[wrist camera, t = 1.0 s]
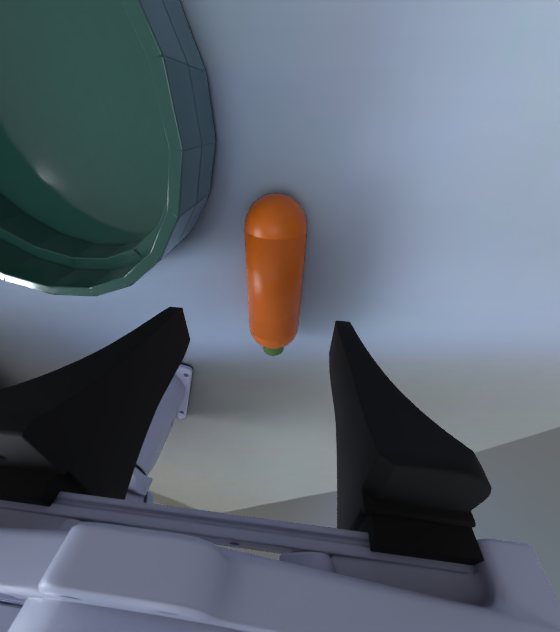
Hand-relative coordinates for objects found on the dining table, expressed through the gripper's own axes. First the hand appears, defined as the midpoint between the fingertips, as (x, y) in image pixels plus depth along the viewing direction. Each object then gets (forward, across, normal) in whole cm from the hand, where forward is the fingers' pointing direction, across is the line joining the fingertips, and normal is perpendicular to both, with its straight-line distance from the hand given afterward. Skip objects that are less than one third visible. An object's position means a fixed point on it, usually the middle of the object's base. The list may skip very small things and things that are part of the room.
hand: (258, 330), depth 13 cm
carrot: (+8, 0, +1) cm, 8 cm away
